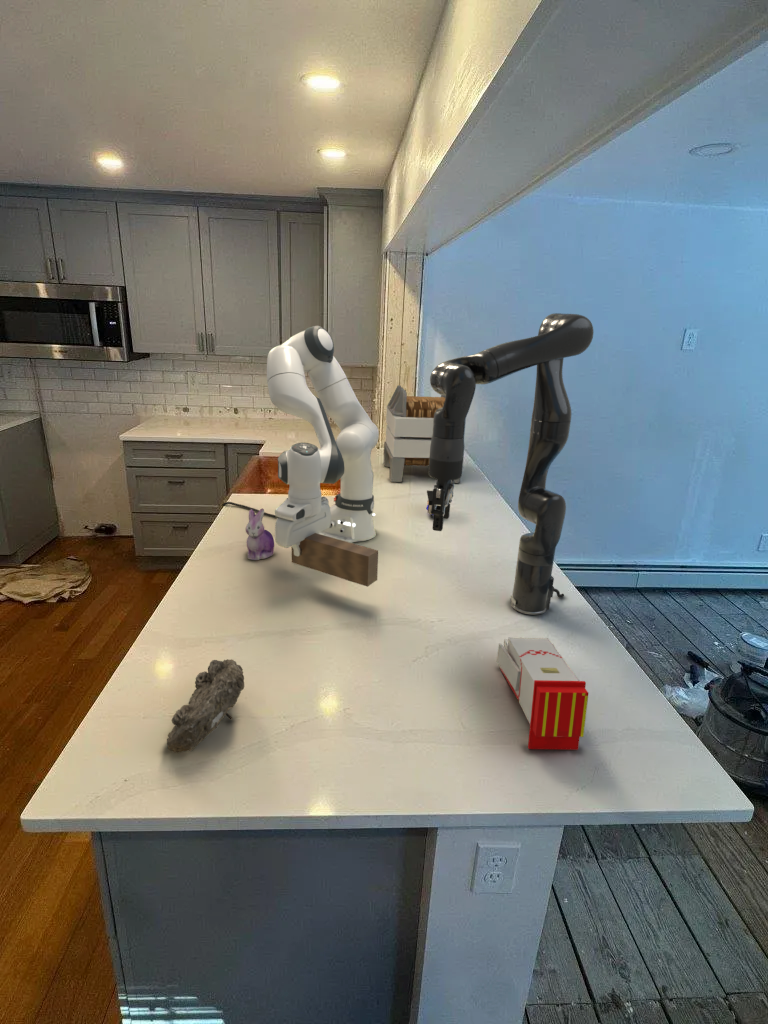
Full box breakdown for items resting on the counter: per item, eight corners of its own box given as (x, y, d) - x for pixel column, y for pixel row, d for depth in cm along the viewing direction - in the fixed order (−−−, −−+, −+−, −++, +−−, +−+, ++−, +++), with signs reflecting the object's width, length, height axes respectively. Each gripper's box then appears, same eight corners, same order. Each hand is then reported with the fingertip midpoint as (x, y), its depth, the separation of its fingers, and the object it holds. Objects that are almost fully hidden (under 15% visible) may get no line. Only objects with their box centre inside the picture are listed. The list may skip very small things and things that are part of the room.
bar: (291, 562, 157) (291, 534, 155) (302, 556, 161) (301, 529, 158) (367, 586, 146) (368, 556, 143) (377, 580, 149) (378, 550, 146)
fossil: (192, 660, 117) (244, 628, 112) (224, 691, 120) (276, 661, 115) (142, 746, 98) (202, 712, 93) (182, 779, 101) (242, 748, 96)
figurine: (249, 563, 172) (248, 517, 167) (241, 550, 180) (239, 506, 175) (280, 558, 176) (279, 513, 171) (270, 546, 184) (269, 502, 179)
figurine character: (444, 523, 215) (440, 506, 228) (446, 505, 211) (442, 489, 225) (427, 523, 215) (424, 505, 228) (428, 505, 211) (425, 488, 225)
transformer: (382, 463, 289) (386, 382, 275) (445, 464, 293) (451, 384, 279) (390, 482, 257) (394, 392, 243) (460, 483, 261) (468, 394, 247)
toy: (545, 621, 128) (598, 688, 99) (540, 675, 131) (589, 757, 102) (492, 620, 128) (529, 687, 98) (488, 674, 131) (522, 756, 101)
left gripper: (318, 492, 162) (318, 537, 167) (270, 512, 145) (271, 561, 150) (336, 497, 159) (336, 542, 164) (289, 517, 142) (290, 567, 147)
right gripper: (458, 465, 118) (451, 537, 124) (467, 450, 131) (461, 516, 137) (423, 461, 120) (418, 532, 126) (436, 447, 133) (431, 512, 139)
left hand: (304, 551), depth 157 cm, fingers closed on bar, 5 cm apart
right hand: (440, 524), depth 131 cm, fingers open, 8 cm apart
